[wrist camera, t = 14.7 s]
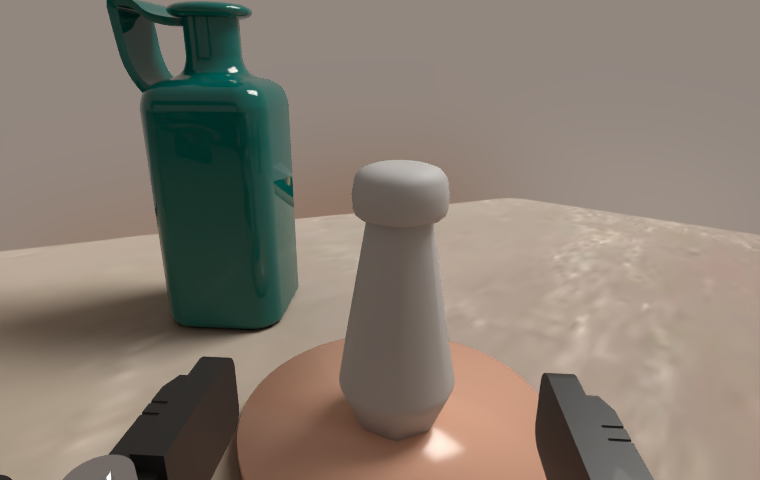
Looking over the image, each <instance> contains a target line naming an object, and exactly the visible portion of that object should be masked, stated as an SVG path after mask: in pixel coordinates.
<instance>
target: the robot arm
mask: <svg viewBox="0 0 760 480" xmlns="http://www.w3.org/2000/svg"><path fill="white" fill-rule="evenodd" d="M238 416H239V404H238V394H237V385H236V376H235V366H234V362H233V360H232V359H231V358H222V357H202V358H200V359H199V361H198V362H197V363H196V365H195V366H194V367H193V369H192V370H191V371H190V373H189V374H188V375H179V376H178V377H176V378H175V379H173V380H172V381H170V382H169V383H167V384H166V385H164V386H163V387H162V388H161V389H160V391H159V392H158V393H157V394H156V396H155V397H154V398H153V399H152V402H151V403H149V404H148V406H147V407H146V408H145V409H144V411H143V412H142V415H140V416H139V417H138V418H137V419H136V421H135V422H134V423H133V425H132V426H131V427H130V428H129V430H128V431H127V432H126V433H125V435H124V436H123V437H122V438H121V440H120V441H119V442H118V443H117V445H116V446H115V447H114V448H113V450H112V451H111V452H110V453H109V455H105V456H100V457H97V458H94V459H91V460H89V461H86V462H85V463H83V464H81V465H79V466H78V467H76V468H75V469H73V470H72V471H71V472H70V473H68V474H67V475H66V476H65V478H64V479H63V480H211V478H212V476H213V474H214V472H215V470H216V468H217V466H218V464H219V462H220V460H221V458H222V456H223V454H224V452H225V450H226V448H227V446H228V444H229V442H230V440H231V438H232V436H233V434H234V432H235V429H236V426H237V422H238ZM535 438H536V446H537V450H538V453H539V457H540V460H541V463H542V466H543V470H544V473H545V476H546V479H547V480H654V479H653V477H652V476H651V474H650V472H649V470H648V469H647V467H646V465H645V463H644V461H643V460H642V458H641V456H640V454H639V453H638V451H637V449H636V447H635V446H634V444H633V443H631V439H630V437H629V435H628V433H627V432H626V430H625V429H624V428H623V424H622V423H621V421H620V419H619V417H618V416H617V414H616V412H615V410H614V409H612V408H611V407H610V406H609V405H608V404H607V403H605V402H604V401H603V400H602V399H601V398H600V397H598V396H587V395H586V394H585V392H584V390H583V388H582V386H581V384H580V382H579V380H578V379H577V377H576V376H575V375H574V374H555V373H544V374H543V375H542V378H541V384H540V392H539V399H538V407H537V414H536V422H535ZM0 480H12V479H11V478H9V477H8V476H5V475H0Z"/></svg>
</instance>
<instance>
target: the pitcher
mask: <svg viewBox="0 0 760 480" xmlns="http://www.w3.org/2000/svg"><path fill="white" fill-rule="evenodd" d="M107 10H108V13H109V17H110V21H111V25H112V28H113V32H114V36H115V40H116V43H117V47H118V50H119V54H120V57H121V59H122V62H123V64H124V67H125V69H126V70H127V72H128V74H129V76H130V77H131V79H132V80H133V82H134V83H135V84H136V86H137V87H138V88H139V89H140V90H141V91H142V93H143V94H142V97H141V103H140V112H141V119H142V126H143V133H144V139H145V146H146V153H147V158H148V166H149V173H150V179H151V185H152V193H153V199H154V206H155V213H156V219H157V226H158V232H159V239H160V246H161V252H162V259H163V266H164V272H165V279H166V286H167V292H168V299H169V306H170V312H171V316H172V318H173V319H174V320H175V321H176V322H177V323H179V324H181V325H184V326H187V327H210V328H234V329H259V328H265V327H267V326H270V325H273V324H275V323H276V322H277V321H279V320H280V319H281V318H282V317H283V315H284V313H285V311H286V309H287V307H288V305H289V304H290V302H291V300H292V298H293V296H294V294H295V293H296V291H297V289H298V273H297V255H296V236H295V218H294V201H293V200H294V199H293V181H292V162H291V144H290V126H289V107H288V100H287V97H286V94H285V92H284V90H283V89H282V87H281V86H280V85H278V84H277V83H275V82H273V81H271V80H269V79H264V78H258V77H256V76H253V75H252V74H250V73H249V72H248V70H247V69H246V67H245V65H244V62H243V59H242V51H241V39H240V28H239V27H240V26H239V20H245V19H247V18H249V17H250V16H251V15H252V11H251V10H250V9H249V8H247V7H245V6H242V5H239V4H233V3H223V2H206V1H188V2H178V3H173V4H170V5H168V6H167V7H165V6H163V5H159V4H155V3H151V2H146V1H142V0H107ZM154 22H155V23H159V24H163V25H169V26H175V27H181V28H183V31H184V41H185V50H186V63H185V67H184V70H183V71H182V72H181V74H179V75H178V76H176V77H174V78H173V76H172V75H171V74H170V72H169V71H168V69H167V67H166V65H165V63H164V60H163V58H162V55H161V51H160V48H159V44H158V38H157V34H156V29H155V25H154Z"/></svg>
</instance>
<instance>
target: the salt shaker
mask: <svg viewBox="0 0 760 480" xmlns="http://www.w3.org/2000/svg"><path fill="white" fill-rule="evenodd" d="M449 197H450V193H449V184H448V179H447V177H446V175H445V174H444V173H443V171H442V170H441V169H440V168H439V167H436V166H433V165H430V164H427V163H424V162H418V161H409V160H389V161H382V162H376V163H373V164H370V165H367V166H364V167H362V168H361V169H360V170H359V171H358V172H357V173H356V175H355V178H354V184H353V189H352V203H353V209H354V212H355V215H356V216H357V217H359V218H360V219H361V220H363V221H365V222H366V225H365V231H364V236H363V242H362V248H361V253H360V259H359V265H358V270H357V276H356V281H355V287H354V293H353V298H352V304H351V310H350V315H349V321H348V327H347V332H346V338H345V344H344V349H343V355H342V361H341V367H340V374H339V383H340V387H341V390H342V392H343V393H344V395H345V397H346V398H347V400H348V402H349V404H350V406H351V407H352V409H353V411H354V413H355V415H356V417H357V419H358V421H359V422H360V424H361V426H362V428H363V430H366V431H368V432H371V433H374V434H377V435H379V436H382V437H385V438H388V439H391V440H393V441H396V442H397V441H400V440H403V439H406V438H409V437H412V436H415V435H418V434H422V433H425V432H428V431H430V429H431V427H432V426H433V424H434V422H435V420H436V419H437V417H438V415H439V413H440V412H441V410H442V408H443V407H444V405H445V403H446V401H447V400H448V398H449V396H450V395H451V393H452V391H453V388H454V384H455V378H454V372H453V365H452V358H451V352H450V345H449V338H448V330H447V322H446V314H445V306H444V298H443V291H442V283H441V275H440V267H439V259H438V252H437V244H436V236H435V228H434V223H436V222H439V221H440V220H441V219H443V218H444V217H445V216H446V213H447V211H448V207H449Z"/></svg>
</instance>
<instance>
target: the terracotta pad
mask: <svg viewBox="0 0 760 480" xmlns="http://www.w3.org/2000/svg"><path fill="white" fill-rule="evenodd" d="M344 344H345V339H341V340H337V341H333V342H330V343H326V344H323V345H320V346H317V347H315V348H312V349H310V350H307V351H305V352H303V353H301V354H299V355H297V356H295V357H293V358H292V359H290V360H288V361H287V362H285V363H284V364H282V365H280V366H279V367H278V368H277V369H275V370H274V371H273V372H272V373H270V374H269V375H268V376H267V377H266V378H265V379H264V380H263V381H262V382H261V383H260V384H259V385H258V387H257V388H256V389H255V390H254V392H253V393H252V394H251V396H250V397H249V399H248V401H247V403H246V405H245V407H244V409H243V411H242V414H241V417H240V420H239V425H238V431H237V451H238V460H239V469H240V473H241V477H242V480H547V479H546V476H545V473H544V470H543V466H542V463H541V460H540V457H539V453H538V450H537V446H536V438H535V422H536V414H537V407H538V399H539V396H538V394H537V393H536V392H535V391H534V390H533V389H532V387H531V386H530V385H529V384H528V383H527V382H526V381H525V380H524V379H522V378H521V377H520V376H519V375H518V374H516V373H515V372H514V371H513V370H511V369H510V368H508V367H507V366H505V365H504V364H502V363H501V362H499V361H497V360H495V359H493V358H492V357H490V356H488V355H486V354H484V353H481V352H479V351H477V350H474V349H472V348H469V347H466V346H463V345H460V344H458V343H454V342H450V341H449V345H450V352H451V358H452V365H453V372H454V378H455V384H454V388H453V391H452V393H451V395H450V396H449V398H448V400H447V401H446V403H445V405H444V407H443V408H442V410H441V412H440V413H439V415H438V417H437V419H436V420H435V422H434V424H433V426H432V427H431V429H430V431H428V432H425V433H422V434H418V435H415V436H412V437H409V438H406V439H403V440H400V441H397V442H396V441H393V440H391V439H388V438H385V437H382V436H379V435H377V434H374V433H371V432H368V431H366V430H363V428H362V426H361V424H360V422H359V421H358V419H357V417H356V415H355V413H354V411H353V409H352V407H351V406H350V404H349V402H348V400H347V398H346V397H345V395H344V393H343V392H342V390H341V387H340V383H339V374H340V367H341V361H342V355H343V349H344Z"/></svg>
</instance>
